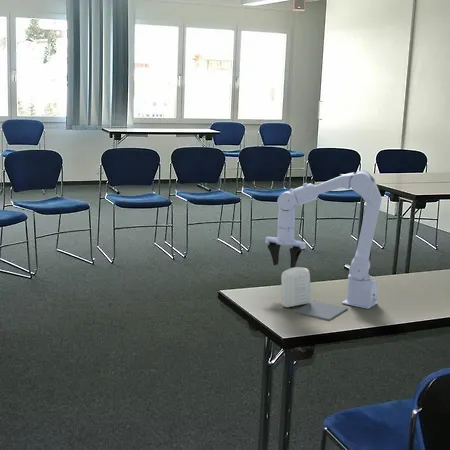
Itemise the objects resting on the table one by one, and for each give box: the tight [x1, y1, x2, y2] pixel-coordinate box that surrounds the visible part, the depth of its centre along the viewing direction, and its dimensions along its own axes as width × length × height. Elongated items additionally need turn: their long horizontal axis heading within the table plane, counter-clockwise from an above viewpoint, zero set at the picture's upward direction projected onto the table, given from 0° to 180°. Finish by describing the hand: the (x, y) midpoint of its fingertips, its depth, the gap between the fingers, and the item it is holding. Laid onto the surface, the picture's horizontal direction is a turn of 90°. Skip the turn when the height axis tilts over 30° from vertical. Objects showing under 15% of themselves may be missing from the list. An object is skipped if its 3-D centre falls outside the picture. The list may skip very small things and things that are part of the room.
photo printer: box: [280, 266, 312, 308], centre depth 221 cm, size 10×4×12 cm, turn 124°
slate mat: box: [294, 300, 349, 322], centre depth 217 cm, size 12×14×1 cm
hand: (284, 266), depth 231 cm, fingers open, 6 cm apart
